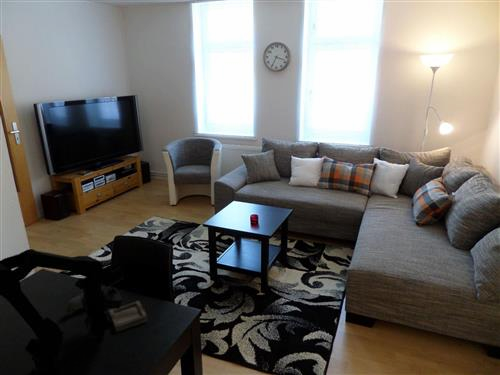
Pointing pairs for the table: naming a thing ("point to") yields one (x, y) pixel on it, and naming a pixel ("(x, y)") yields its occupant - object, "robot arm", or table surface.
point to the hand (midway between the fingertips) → (98, 332)
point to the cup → (89, 320)
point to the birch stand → (128, 316)
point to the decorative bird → (76, 303)
